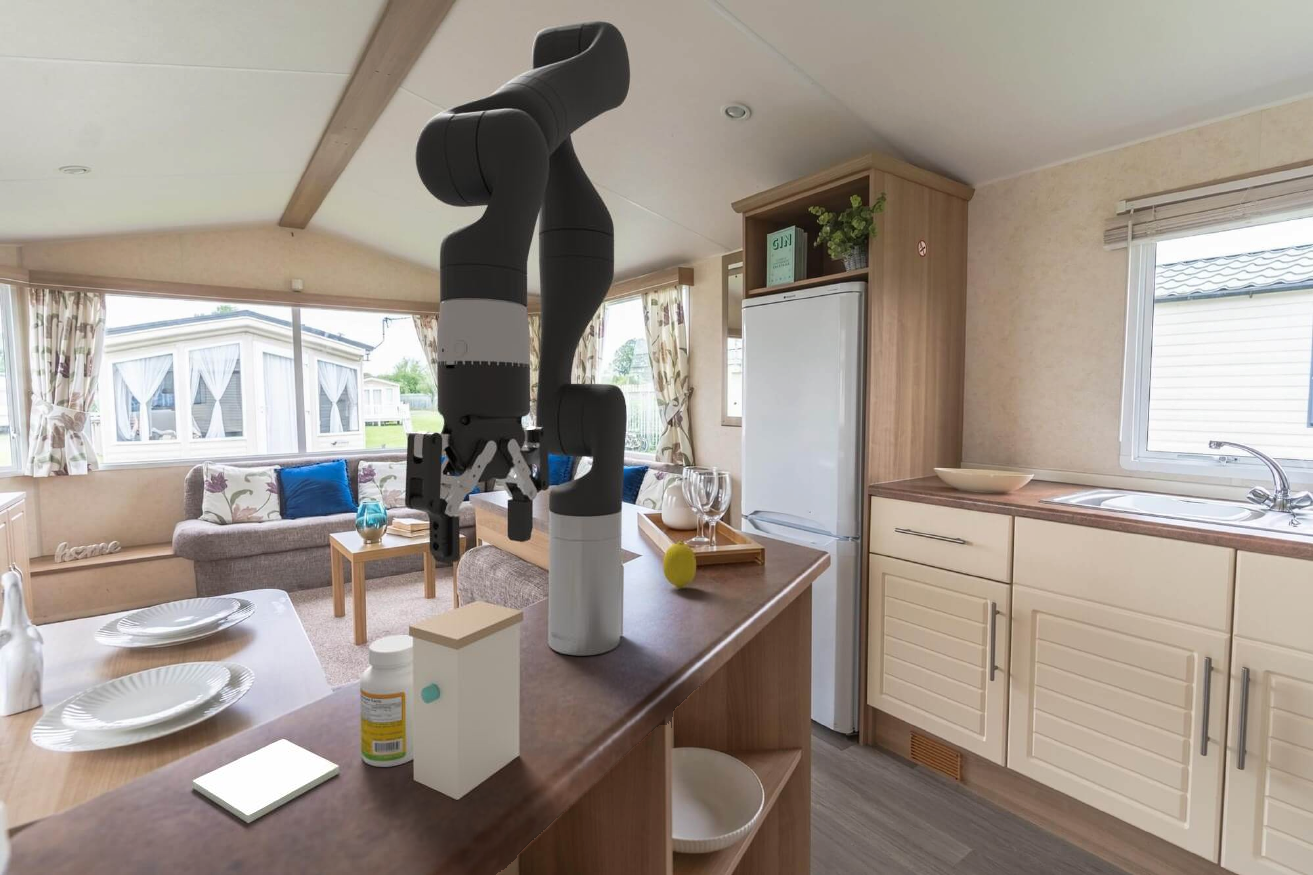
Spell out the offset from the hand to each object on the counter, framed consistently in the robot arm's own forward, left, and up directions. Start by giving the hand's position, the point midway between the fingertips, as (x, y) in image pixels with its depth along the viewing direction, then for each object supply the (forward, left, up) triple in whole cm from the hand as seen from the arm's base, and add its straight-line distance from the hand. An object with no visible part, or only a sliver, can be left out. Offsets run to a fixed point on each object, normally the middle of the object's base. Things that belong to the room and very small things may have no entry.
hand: (485, 550), depth 52 cm
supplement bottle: (+3, -7, -18) cm, 20 cm away
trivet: (+11, -13, -18) cm, 25 cm away
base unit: (+2, 0, -18) cm, 18 cm away
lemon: (-52, -8, -18) cm, 56 cm away
